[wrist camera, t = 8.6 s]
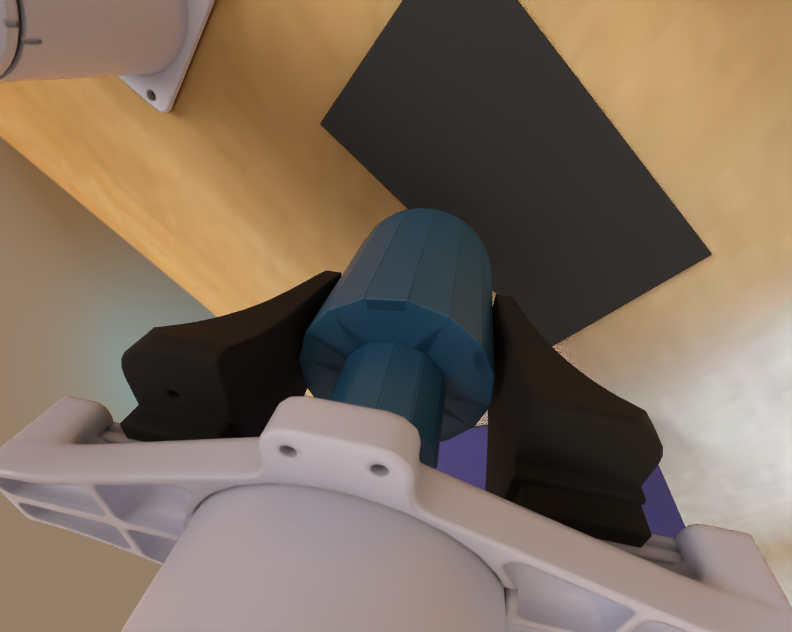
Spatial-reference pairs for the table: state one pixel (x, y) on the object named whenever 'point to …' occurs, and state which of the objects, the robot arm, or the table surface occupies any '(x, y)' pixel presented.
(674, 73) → the table surface
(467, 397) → the bottle
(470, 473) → the cereal box
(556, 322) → the mat
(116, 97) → the table surface
